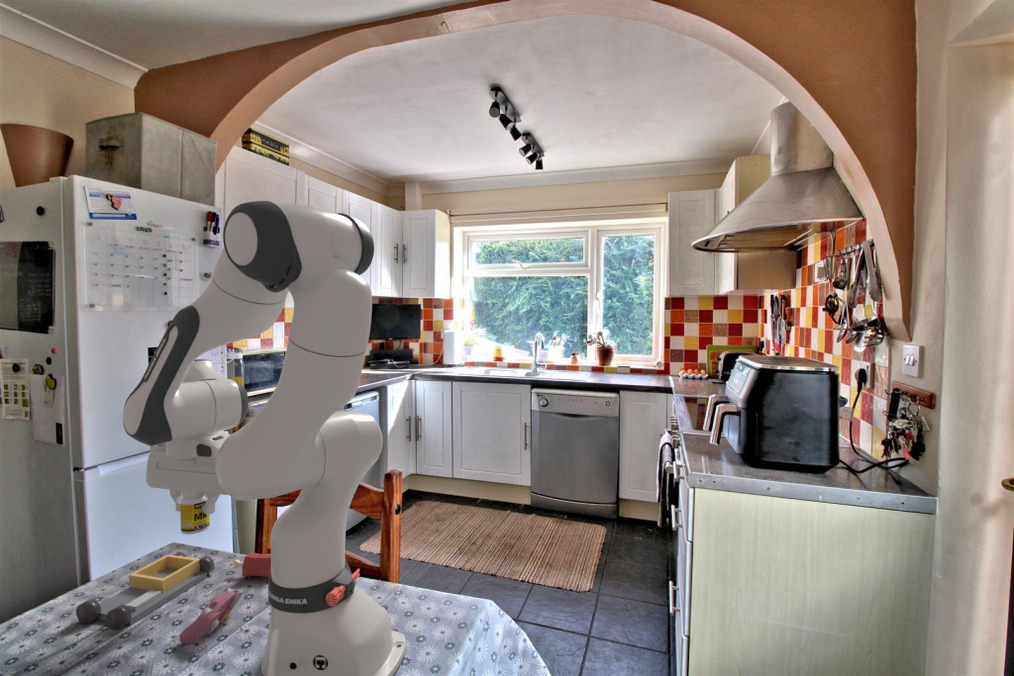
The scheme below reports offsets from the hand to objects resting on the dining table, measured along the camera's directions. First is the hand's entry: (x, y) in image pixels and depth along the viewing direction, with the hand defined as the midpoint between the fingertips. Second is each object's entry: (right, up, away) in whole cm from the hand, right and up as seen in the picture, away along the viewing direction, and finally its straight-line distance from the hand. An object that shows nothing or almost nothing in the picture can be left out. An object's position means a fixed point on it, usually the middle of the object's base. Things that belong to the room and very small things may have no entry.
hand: (195, 512), depth 93 cm
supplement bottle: (0, -4, 0) cm, 4 cm away
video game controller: (+9, -18, -9) cm, 22 cm away
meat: (+9, -17, +8) cm, 20 cm away
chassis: (-9, -17, 0) cm, 19 cm away
